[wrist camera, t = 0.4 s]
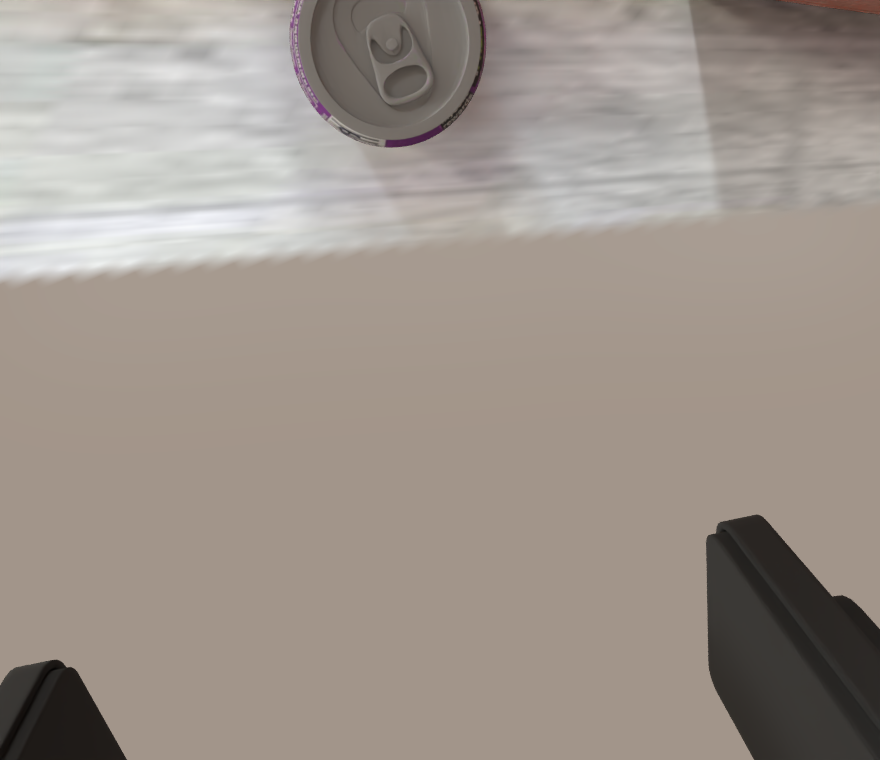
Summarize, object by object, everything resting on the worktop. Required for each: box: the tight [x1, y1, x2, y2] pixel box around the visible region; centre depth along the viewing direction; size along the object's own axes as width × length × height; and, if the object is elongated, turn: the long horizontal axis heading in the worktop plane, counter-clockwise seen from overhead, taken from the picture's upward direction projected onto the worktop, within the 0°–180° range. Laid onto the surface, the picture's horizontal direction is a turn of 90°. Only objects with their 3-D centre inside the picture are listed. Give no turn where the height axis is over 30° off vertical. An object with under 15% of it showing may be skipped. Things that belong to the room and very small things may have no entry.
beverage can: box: [290, 0, 486, 147], centre depth 29 cm, size 7×7×12 cm
